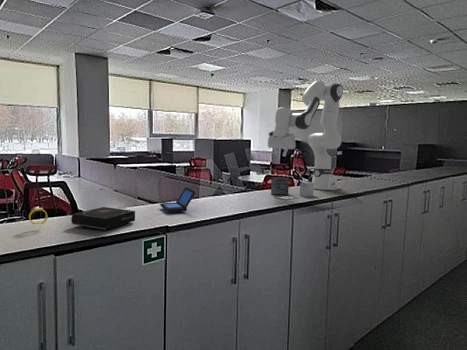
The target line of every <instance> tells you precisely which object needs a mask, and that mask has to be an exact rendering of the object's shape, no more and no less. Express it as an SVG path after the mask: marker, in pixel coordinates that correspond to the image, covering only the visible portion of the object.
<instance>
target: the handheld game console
mask: <svg viewBox="0 0 467 350" xmlns="http://www.w3.org/2000/svg"><path fill="white" fill-rule="evenodd" d="M195 194H196V191H195V190H193V189H191V188H188V187H184V189H183V190H182V192H181V194H180V195H179V197H178V198H177V200H176V201H175V202H163V203H160V205H159V206H160V207H162V208H163V209H164V210H165V211H166V212H168V213H171V212H172V213H173V212H177V213H178V212H187V211H188V209H187V208H188V206H189V205H190V203H191V202H192V199H193V198H194V196H195Z"/></svg>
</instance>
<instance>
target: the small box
mask: <svg viewBox="0 0 467 350" xmlns="http://www.w3.org/2000/svg"><path fill="white" fill-rule="evenodd" d="M289 181H290V179H289V177H275V176H274V177H272V176H271V185H270V187H271V190H270V195H272V196H289V184H290V183H289Z"/></svg>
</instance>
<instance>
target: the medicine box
mask: <svg viewBox="0 0 467 350" xmlns="http://www.w3.org/2000/svg"><path fill="white" fill-rule="evenodd" d="M313 188H314V183H312V181H302V182H300V183H299V197H303V198H304V197H305V198H307V197H313V196H314V189H313Z"/></svg>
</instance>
